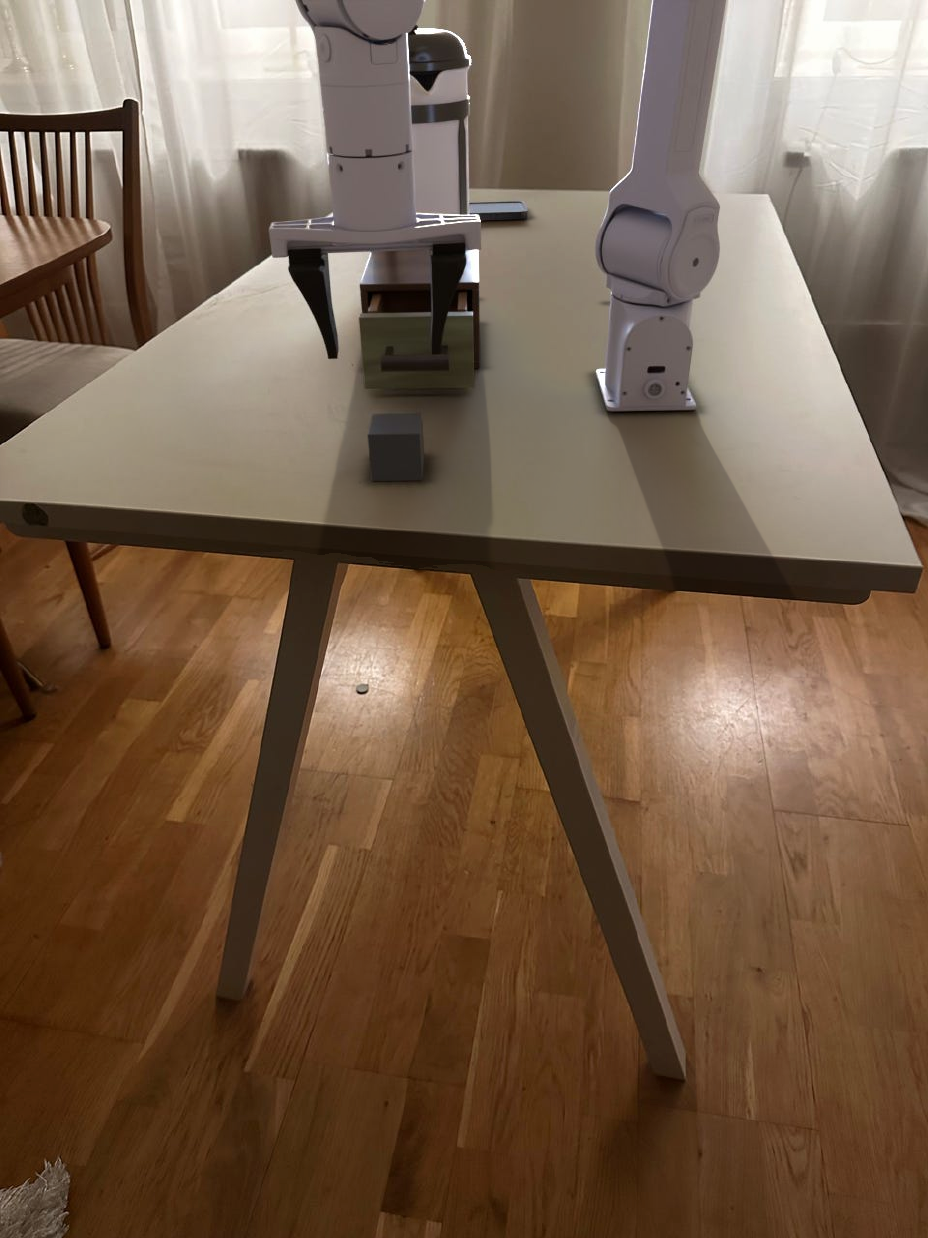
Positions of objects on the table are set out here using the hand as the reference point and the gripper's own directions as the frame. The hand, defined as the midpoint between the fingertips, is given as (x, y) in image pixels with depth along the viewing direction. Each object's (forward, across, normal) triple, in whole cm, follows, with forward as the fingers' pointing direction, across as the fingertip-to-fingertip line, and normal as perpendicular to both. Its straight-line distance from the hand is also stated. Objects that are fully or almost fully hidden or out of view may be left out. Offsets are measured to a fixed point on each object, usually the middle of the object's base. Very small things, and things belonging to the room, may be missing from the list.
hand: (384, 352), depth 68 cm
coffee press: (+10, -3, -48) cm, 49 cm away
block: (+9, 0, +1) cm, 9 cm away
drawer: (+9, -3, -18) cm, 20 cm away
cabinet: (+9, -4, -28) cm, 30 cm away
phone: (+10, -14, -88) cm, 90 cm away
